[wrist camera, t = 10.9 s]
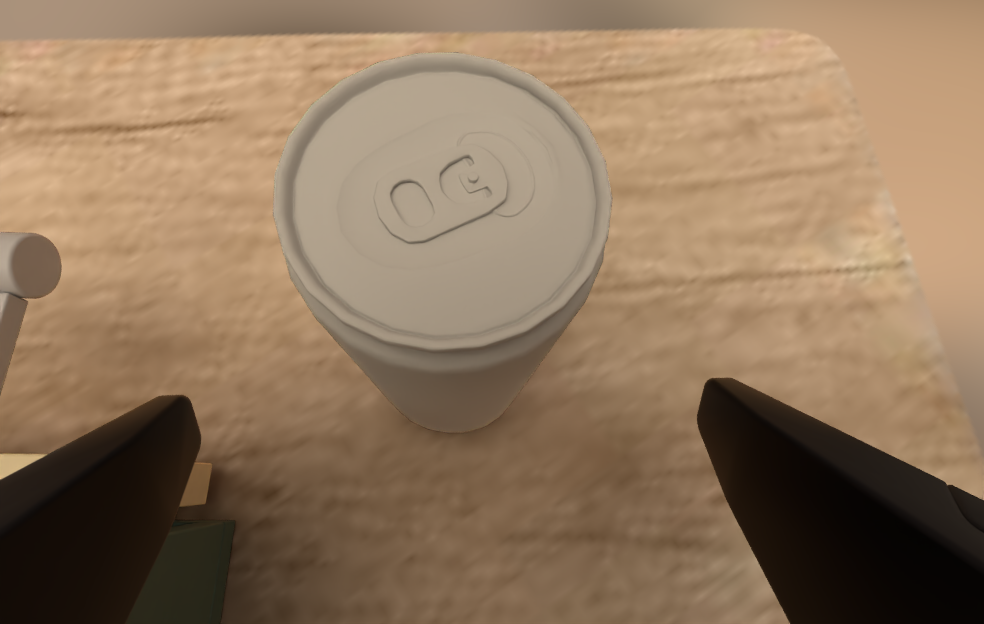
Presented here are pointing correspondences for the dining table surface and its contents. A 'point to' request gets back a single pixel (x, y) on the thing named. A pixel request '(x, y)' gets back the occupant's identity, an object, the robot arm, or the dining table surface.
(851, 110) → the dining table surface
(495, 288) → the beverage can
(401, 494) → the dining table surface
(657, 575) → the dining table surface
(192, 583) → the cabinet
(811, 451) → the robot arm
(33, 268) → the drawer
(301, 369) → the dining table surface
